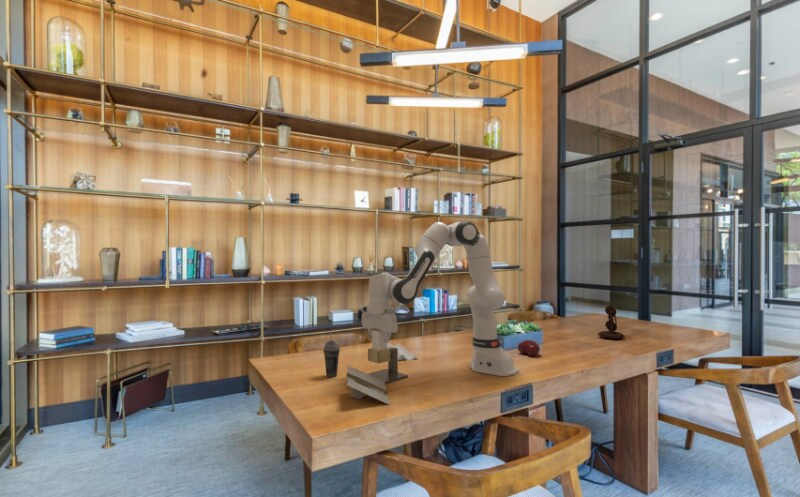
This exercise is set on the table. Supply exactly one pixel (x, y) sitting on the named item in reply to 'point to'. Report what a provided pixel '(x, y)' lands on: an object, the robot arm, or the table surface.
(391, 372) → the bracket
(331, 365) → the dark travel mug
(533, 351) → the heart
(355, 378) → the grey grooved block
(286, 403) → the table surface
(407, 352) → the crown molding
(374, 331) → the rail end
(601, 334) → the dark figurine
